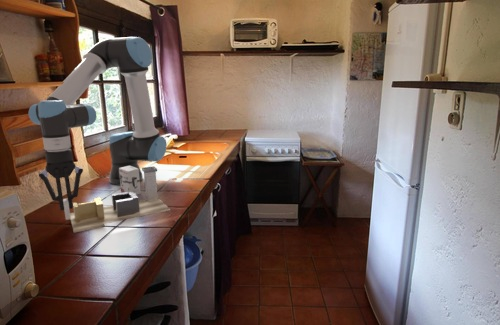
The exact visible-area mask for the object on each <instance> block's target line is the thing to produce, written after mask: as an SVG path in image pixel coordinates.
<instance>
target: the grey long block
mask: <svg viewBox="0 0 500 325" xmlns="http://www.w3.org/2000/svg"><path fill="white" fill-rule="evenodd" d="M141 172H143V176H144V179H143V180H144V189H145V200H147V201H148V202H153V201H158V198H159V196H158V185H157V172H158V168H157V167H155V166H147V167H141Z"/></svg>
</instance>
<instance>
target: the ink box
mask: <svg viewBox="0 0 500 325" xmlns="http://www.w3.org/2000/svg"><path fill="white" fill-rule="evenodd" d="M119 174H120V185H119V186H120V193H123V192H134V193H135V194H136V195H137V196H138V195H141V181H140V178H139V169H138V168H135V167H132V166H125V167H121V168H119Z"/></svg>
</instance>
